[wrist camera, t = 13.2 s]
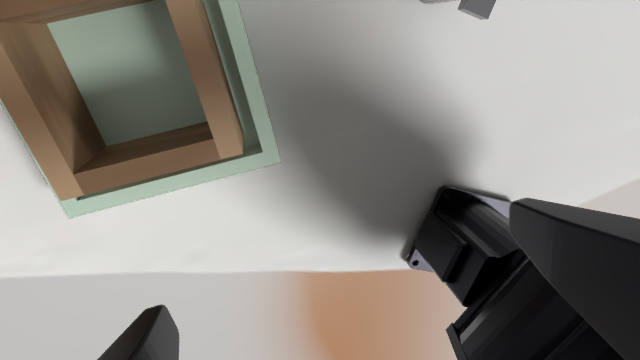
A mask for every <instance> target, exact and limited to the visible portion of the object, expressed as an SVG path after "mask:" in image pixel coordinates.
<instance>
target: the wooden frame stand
mask: <svg viewBox="0 0 640 360" xmlns="http://www.w3.org/2000/svg"><path fill="white" fill-rule="evenodd" d="M150 1H154V0H0V99H1V101H2V102H3V104H4V106H5V107H6V109H7V111H8V113H9V114H10V116H11V118H12V119H13V121H14V123H15V124H16V126H17V128H18V130H19V131H20V133H21V135H22V136H23V138H24V140H25V142H26V143H27V145H28V147H29V148H30V150H31V152H32V154H33V155H34V157H35V159H36V160H37V162H38V164H39V165H40V167H41V169H42V171H43V172H44V174H45V176H46V177H47V179H48V181H49V183H50V184H51V186H52V188H53V189H54V191H55V193H56V195H57V196H58V198H59V200H60V201H64V200H68V199H72V198H76V197H79V196H83V195H87V194H91V193H95V192H99V191H102V190H106V189H110V188H114V187H118V186H122V185H126V184H129V183H133V182H137V181H141V180H145V179H149V178H152V177H156V176H160V175H164V174H168V173H172V172H176V171H179V170H183V169H187V168H191V167H195V166H199V165H202V164H206V163H210V162H214V161H218V160H222V159H226V158H229V157H233V156H237V155H241V154H243V128H242V125H241V122H240V119H239V115H238V112H237V109H236V106H235V102H234V99H233V96H232V93H231V89H230V86H229V83H228V80H227V77H226V73H225V70H224V67H223V64H222V60H221V57H220V54H219V51H218V47H217V44H216V41H215V38H214V34H213V31H212V28H211V25H210V22H209V18H208V15H207V12H206V9H205V5H204V2H203V0H165V1H166V4H167V7H168V10H169V12H170V15H171V18H172V21H173V24H174V27H175V30H176V32H177V35H178V38H179V41H180V44H181V47H182V50H183V53H184V55H185V58H186V61H187V64H188V67H189V70H190V73H191V75H192V78H193V81H194V84H195V87H196V90H197V93H198V95H199V98H200V101H201V104H202V107H203V110H204V113H205V116H206V118H207V121H206V122H202V123H198V124H194V125H190V126H186V127H182V128H178V129H174V130H170V131H166V132H162V133H158V134H154V135H150V136H146V137H142V138H138V139H134V140H130V141H126V142H122V143H118V144H114V145H110V146H106V145H105V142H104V140H103V138H102V136H101V134H100V132H99V130H98V128H97V126H96V124H95V122H94V120H93V118H92V116H91V114H90V112H89V110H88V108H87V106H86V103H85V101H84V99H83V97H82V95H81V93H80V91H79V89H78V87H77V85H76V83H75V81H74V79H73V77H72V75H71V73H70V71H69V69H68V67H67V64H66V62H65V60H64V58H63V56H62V54H61V52H60V50H59V48H58V46H57V44H56V42H55V40H54V38H53V36H52V34H51V32H50V30H49V28H48V25H47V24H48V23H52V22H57V21H62V20H66V19H71V18H76V17H80V16H85V15H89V14H94V13H99V12H103V11H108V10H113V9H117V8H122V7H126V6H131V5H136V4H140V3H145V2H150Z"/></svg>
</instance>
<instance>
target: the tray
mask: <svg viewBox="0 0 640 360" xmlns="http://www.w3.org/2000/svg"><path fill="white" fill-rule="evenodd" d="M203 2H204V5H205V9H206V12H207V15H208V18H209V22H210V25H211V28H212V31H213V34H214V38H215V41H216V44H217V47H218V51H219V54H220V57H221V60H222V64H223V67H224V70H225V73H226V77H227V80H228V83H229V86H230V89H231V93H232V96H233V99H234V102H235V106H236V109H237V112H238V115H239V119H240V122H241V125H242V128H243V154H241V155H237V156H233V157H229V158H226V159H222V160H218V161H214V162H210V163H206V164H202V165H199V166H195V167H191V168H187V169H183V170H179V171H176V172H172V173H168V174H164V175H160V176H156V177H152V178H149V179H145V180H141V181H137V182H133V183H129V184H126V185H122V186H118V187H114V188H110V189H106V190H102V191H99V192H95V193H91V194H87V195H83V196H79V197H76V198H72V199H68V200H64V201H60V200H59V198H58V196H57V195H56V193H55V191H54V189H53V188H52V186H51V184H50V183H49V181H48V179H47V177H46V176H45V174H44V172H43V171H42V169H41V167H40V165H39V164H38V162H37V160H36V159H35V157H34V155H33V154H32V152H31V150H30V148H29V147H28V145H27V143H26V142H25V140H24V138H23V136H22V135H21V133H20V131H19V130H18V128H17V126H16V124H15V123H14V121H13V119H12V118H11V116H10V114H9V113H8V111H7V109H6V107H5V106H4V104H3V102H2V101H1V99H0V103H1V105H2V107H3V109H4V110H5V112H6V114H7V115H8V117H9V119H10V120H11V122H12V124H13V126H14V127H15V129H16V131H17V132H18V134H19V136H20V137H21V139H22V141H23V142H24V144H25V146H26V148H27V149H28V151H29V153H30V154H31V156H32V158H33V159H34V161H35V163H36V165H37V166H38V168H39V170H40V171H41V173H42V175H43V176H44V178H45V180H46V181H47V183H48V185H49V187H50V188H51V190H52V192H53V193H54V195H55V197H56V198H57V200H58V202H59V204H60V205H61V207H62V209H63V210H64V212H65V214H66V215H67V217H68V219H70V218H73V217H77V216H81V215H85V214H89V213H92V212H96V211H100V210H104V209H107V208H111V207H115V206H119V205H122V204H126V203H130V202H134V201H137V200H141V199H145V198H149V197H153V196H156V195H160V194H164V193H168V192H171V191H175V190H179V189H183V188H186V187H190V186H194V185H198V184H201V183H205V182H209V181H213V180H217V179H220V178H224V177H228V176H232V175H235V174H239V173H243V172H247V171H250V170H254V169H258V168H262V167H265V166H269V165H273V164H277V163H281V159H280V155H279V151H278V147H277V144H276V140H275V136H274V133H273V129H272V125H271V122H270V118H269V114H268V111H267V107H266V104H265V100H264V96H263V93H262V89H261V85H260V82H259V78H258V74H257V71H256V67H255V63H254V60H253V56H252V52H251V49H250V45H249V41H248V38H247V34H246V30H245V27H244V23H243V19H242V16H241V12H240V8H239V5H238V1H237V0H203ZM47 25H48V28H49V30H50V32H51V34H52V36H53V38H54V40H55V42H56V44H57V46H58V48H59V50H60V52H61V54H62V56H63V58H64V60H65V62H66V64H67V67H68V69H69V71H70V73H71V75H72V77H73V79H74V81H75V83H76V85H77V87H78V89H79V91H80V93H81V95H82V97H83V99H84V101H85V103H86V106H87V108H88V110H89V112H90V114H91V116H92V118H93V120H94V122H95V124H96V126H97V128H98V130H99V132H100V134H101V136H102V138H103V140H104V142H105V145H106V146H110V145H114V144H118V143H122V142H126V141H130V140H134V139H138V138H142V137H146V136H150V135H154V134H158V133H162V132H166V131H170V130H174V129H178V128H182V127H186V126H190V125H194V124H198V123H202V122H206V121H207V118H206V116H205V113H204V110H203V107H202V104H201V101H200V98H199V95H198V93H197V90H196V87H195V84H194V81H193V78H192V75H191V73H190V70H189V67H188V64H187V61H186V58H185V55H184V53H183V50H182V47H181V44H180V41H179V38H178V35H177V32H176V30H175V27H174V24H173V21H172V18H171V15H170V12H169V10H168V7H167V4H166V1H165V0H154V1H150V2H145V3H140V4H136V5H131V6H126V7H122V8H117V9H113V10H108V11H103V12H99V13H94V14H89V15H85V16H80V17H76V18H71V19H66V20H62V21H57V22H52V23H48V24H47Z"/></svg>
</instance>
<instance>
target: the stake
mask: <svg viewBox="0 0 640 360" xmlns="http://www.w3.org/2000/svg"><path fill="white" fill-rule="evenodd" d="M420 1H421V2H423V3H426V4H434V3H441V2H448V1H456V0H420ZM495 2H496V0H461V2H460V5H459V7H458V10H460V11H462V12H464V13H467V14H469V15H472V16H474V17H476V18H479V19H488V18H489V15H490V13H491V11H492V8H493V6H494V4H495Z"/></svg>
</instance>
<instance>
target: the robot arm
mask: <svg viewBox="0 0 640 360" xmlns="http://www.w3.org/2000/svg"><path fill="white" fill-rule="evenodd" d="M447 191H448V194H447V195H445V196H444V194H445V193H446V192H447ZM415 260H416V261H415ZM413 261H415V262H414V263H413ZM407 264H408V265H409V266H410V268H412V269H417V270H423V271H429V272H435V273H436V275H437V276H438V277H439V279H440V280H441V281H442V282H444V283H446V285H447V286H448V287H449V288H450V290H451V291H452V292H453V294H454V295H455V296H456V298H457V299H458V300H459V301H460V303H461V304H462V305H463V306H465V307H468V308H467V309H466V310H465V311H464V312H463V314H462V315H461V316H460V317H459V318H458V319H457V320H456V321H455V323H451V324H450V325H449V327H448V328H447V329H446V331H447V334H448V336H449V339H450V341H451V344H452V347H453V349H454V352H455V354H456V357H457V359H458V360H640V219H637V218H632V217H626V216H621V215H616V214H611V213H606V212H600V211H595V210H590V209H584V208H579V207H574V206H569V205H563V204H558V203H553V202H547V201H542V200H537V199H532V198H523V199H520V200H516V201H513V202H510V201H506V200H502V199H498V198H494V197H490V196H486V195H482V194H478V193H474V192H470V191H466V190H462V189H459V188H455V187H451V186H443V187H441V188H440V189H439V191H438V193H437V195H436V197H435V200H434V202H433V204H432V206H431V208H430V211H429V213H428V214H427V216H426V218H425V220H424V222H423V225H422V227H421V229H420V231H419V233H418V235H417V238H416V240H415V242H414V245H413V247H412V250H411V252H410V254H409V256H408V258H407ZM178 359H179V332H178V329H177V326H176V325H175V322H174V321H173V319H172V317H171V315H170V313H169V311H168V309H167V307H165V305H157V306H154V307H151V308H147V309H145V310H144V311H143V312H142V313H141V314H140V315H139V317H138V318H137V319H136V320H135V321H134V322H133V323H132V324H131V325H130V326H129V327H128V328H127V329H126V330H125V331H124V332H123V333H122V334H121V335H120V336H119V337H118V339H117V340H116V341H115V342H114V343H113V344H112V345H111V346H110V347H109V348H108V349H107V350H106V351H105V352H104V353H103V354H102V355H101V357H99V358H98V359H97V360H178Z"/></svg>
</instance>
